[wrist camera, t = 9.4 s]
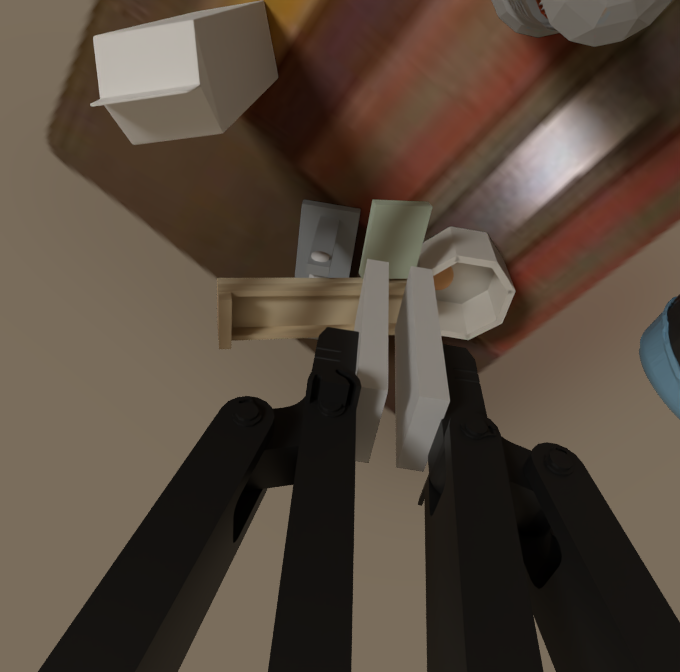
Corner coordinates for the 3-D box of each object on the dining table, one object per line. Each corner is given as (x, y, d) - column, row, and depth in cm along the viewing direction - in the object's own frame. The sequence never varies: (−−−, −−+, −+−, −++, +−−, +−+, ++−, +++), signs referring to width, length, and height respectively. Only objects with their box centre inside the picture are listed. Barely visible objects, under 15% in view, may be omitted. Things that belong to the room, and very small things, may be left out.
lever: (433, 202, 43) (449, 219, 40) (402, 320, 50) (413, 341, 48) (216, 192, 38) (218, 211, 35) (217, 325, 45) (219, 349, 43)
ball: (458, 272, 51) (427, 266, 51) (450, 298, 53) (420, 293, 53) (455, 257, 54) (426, 252, 54) (447, 283, 56) (419, 278, 56)
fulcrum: (360, 208, 52) (354, 260, 43) (346, 290, 58) (338, 351, 49) (303, 199, 52) (285, 249, 43) (295, 281, 58) (277, 341, 49)
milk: (279, 78, 46) (210, 152, 28) (215, 87, 46) (110, 164, 29) (264, -2, 42) (174, 24, 24) (195, 9, 43) (61, 43, 25)
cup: (512, 236, 53) (525, 266, 47) (484, 310, 58) (493, 344, 53) (424, 222, 52) (427, 250, 47) (404, 297, 58) (406, 330, 53)
